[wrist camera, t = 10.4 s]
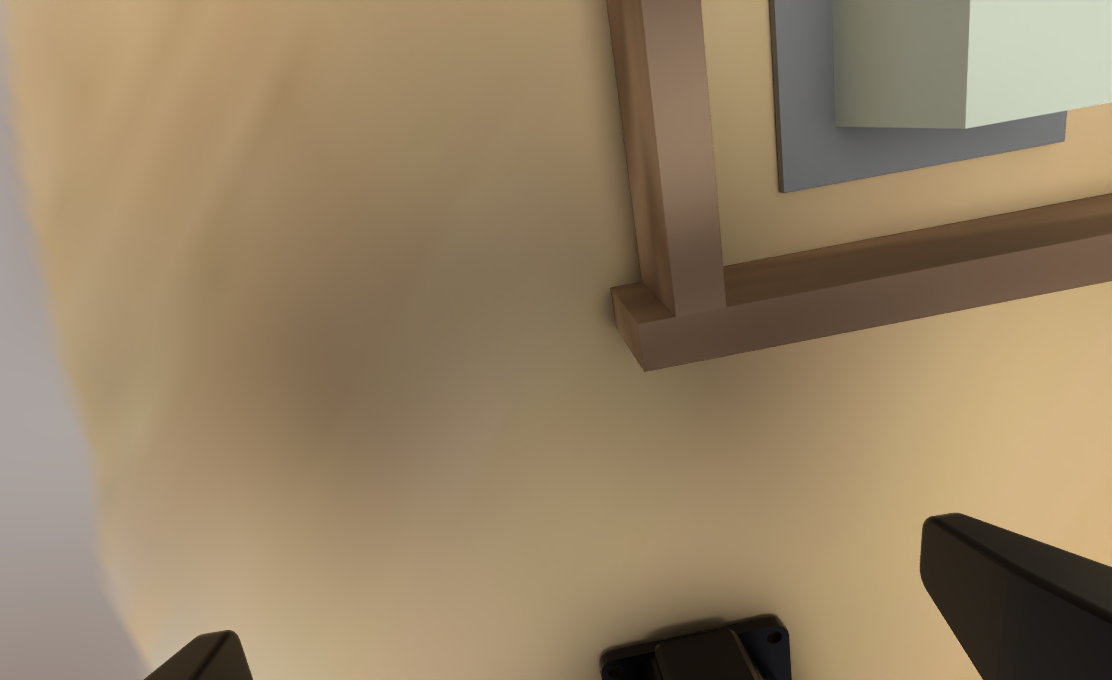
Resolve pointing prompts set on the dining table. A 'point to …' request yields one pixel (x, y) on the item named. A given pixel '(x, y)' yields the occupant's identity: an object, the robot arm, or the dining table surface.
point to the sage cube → (968, 60)
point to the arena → (806, 277)
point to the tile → (860, 152)
